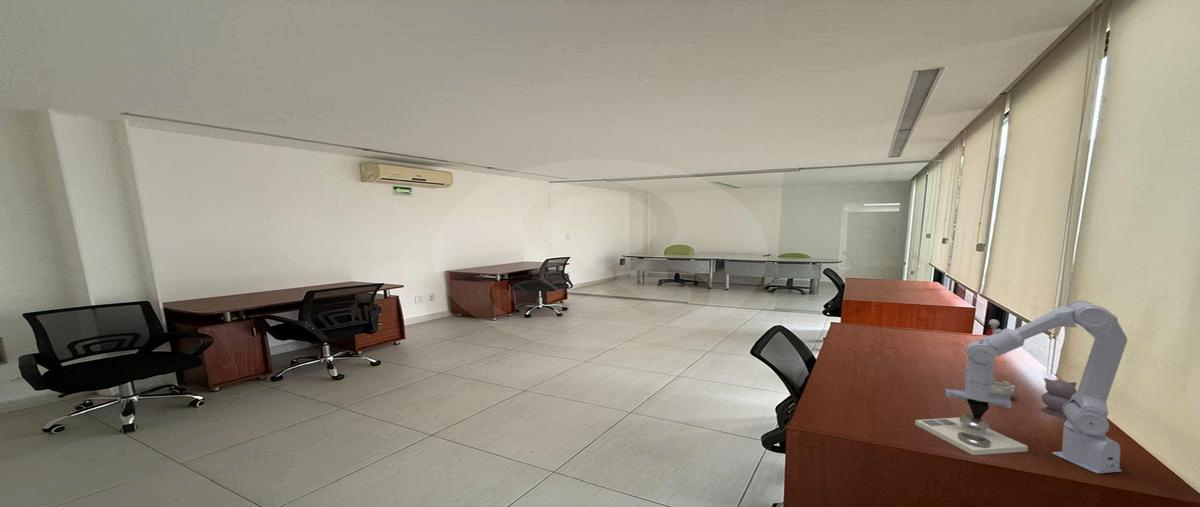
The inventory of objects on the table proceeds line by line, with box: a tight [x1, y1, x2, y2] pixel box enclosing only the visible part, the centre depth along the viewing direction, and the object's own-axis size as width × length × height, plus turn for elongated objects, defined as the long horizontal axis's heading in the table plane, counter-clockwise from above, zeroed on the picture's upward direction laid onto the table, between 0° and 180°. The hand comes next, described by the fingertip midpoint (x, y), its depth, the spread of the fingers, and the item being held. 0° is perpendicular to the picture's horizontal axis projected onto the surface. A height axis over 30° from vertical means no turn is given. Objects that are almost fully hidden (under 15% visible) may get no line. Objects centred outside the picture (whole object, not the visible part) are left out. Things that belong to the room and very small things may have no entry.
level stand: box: [914, 417, 1029, 456], centre depth 121 cm, size 18×18×2 cm
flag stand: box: [985, 318, 1016, 401], centre depth 152 cm, size 13×13×30 cm
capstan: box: [958, 413, 991, 447], centre depth 120 cm, size 17×7×5 cm, turn 143°
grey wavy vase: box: [1040, 377, 1078, 419], centre depth 136 cm, size 8×8×12 cm
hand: (975, 424), depth 121 cm, fingers closed, pressing on capstan
